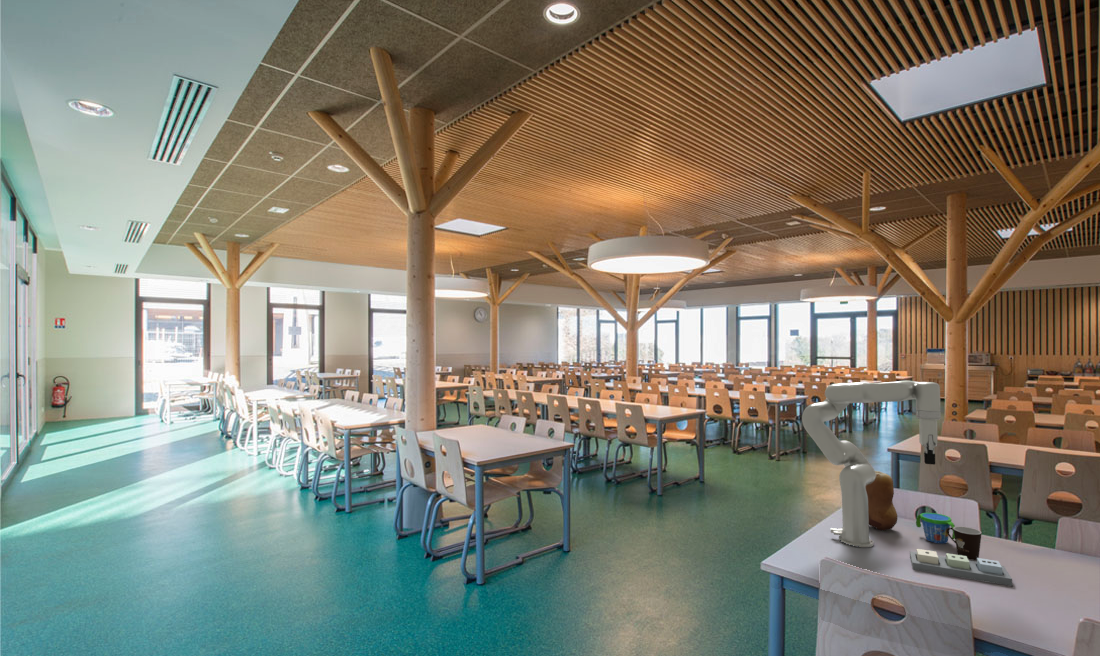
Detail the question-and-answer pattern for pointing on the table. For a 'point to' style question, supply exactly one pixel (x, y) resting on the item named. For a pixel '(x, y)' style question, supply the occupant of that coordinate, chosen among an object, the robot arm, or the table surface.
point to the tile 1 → (927, 556)
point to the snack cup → (935, 527)
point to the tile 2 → (989, 566)
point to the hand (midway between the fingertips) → (929, 463)
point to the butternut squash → (881, 502)
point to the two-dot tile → (957, 561)
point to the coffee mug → (967, 541)
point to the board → (960, 570)
